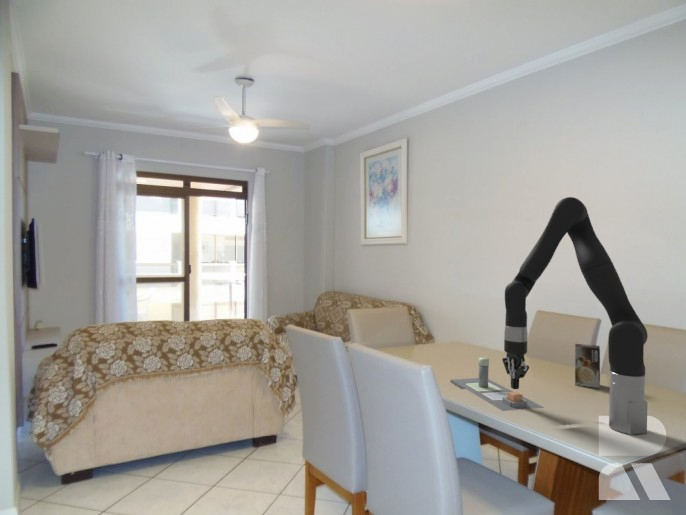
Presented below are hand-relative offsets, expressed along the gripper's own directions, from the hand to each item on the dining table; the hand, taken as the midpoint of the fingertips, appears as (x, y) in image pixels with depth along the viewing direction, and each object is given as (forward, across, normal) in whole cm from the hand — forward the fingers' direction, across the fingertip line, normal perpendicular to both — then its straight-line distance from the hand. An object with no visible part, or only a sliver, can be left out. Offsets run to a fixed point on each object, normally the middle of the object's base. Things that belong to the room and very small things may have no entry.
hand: (514, 388), depth 164 cm
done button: (+4, 0, 0) cm, 4 cm away
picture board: (+6, +14, 0) cm, 15 cm away
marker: (+5, +21, 0) cm, 21 cm away
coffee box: (+7, +18, -45) cm, 49 cm away
